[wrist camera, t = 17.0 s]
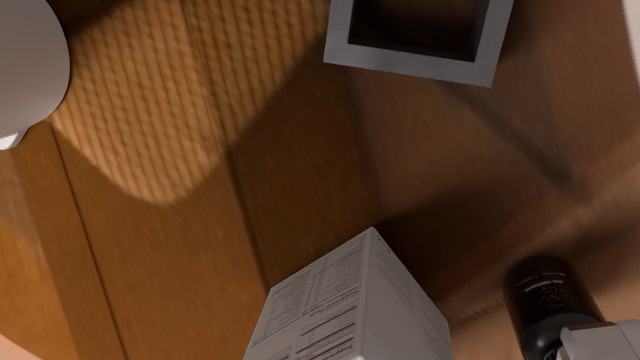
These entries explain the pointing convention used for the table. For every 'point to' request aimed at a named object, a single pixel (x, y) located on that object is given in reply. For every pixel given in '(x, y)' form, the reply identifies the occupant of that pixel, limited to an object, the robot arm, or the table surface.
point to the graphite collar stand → (420, 60)
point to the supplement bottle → (546, 304)
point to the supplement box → (351, 310)
